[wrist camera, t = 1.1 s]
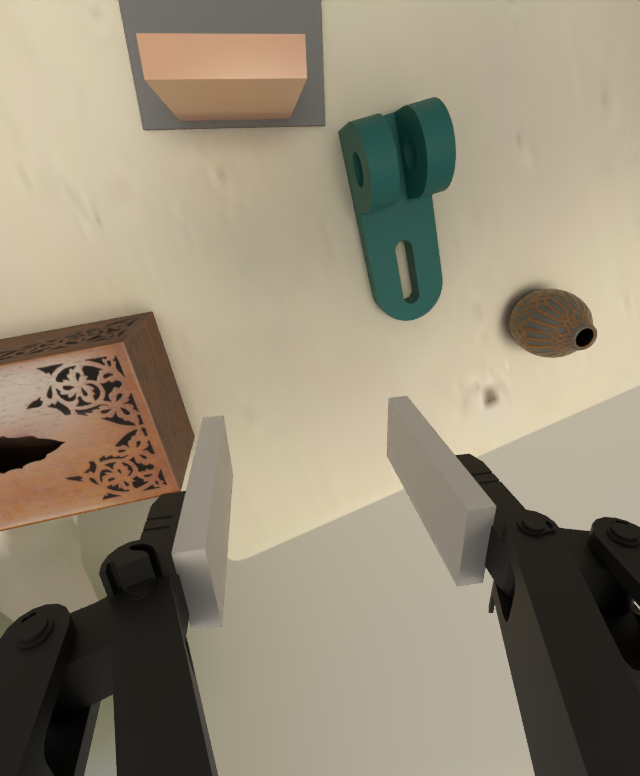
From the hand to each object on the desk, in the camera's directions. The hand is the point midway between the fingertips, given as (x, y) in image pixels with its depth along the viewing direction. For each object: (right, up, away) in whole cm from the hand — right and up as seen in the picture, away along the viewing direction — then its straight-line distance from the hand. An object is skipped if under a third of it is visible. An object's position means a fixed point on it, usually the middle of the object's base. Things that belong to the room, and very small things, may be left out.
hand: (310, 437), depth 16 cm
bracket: (+7, +18, +24) cm, 30 cm away
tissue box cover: (-27, +1, +26) cm, 38 cm away
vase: (+24, +10, +30) cm, 39 cm away
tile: (-7, +25, +17) cm, 31 cm away
